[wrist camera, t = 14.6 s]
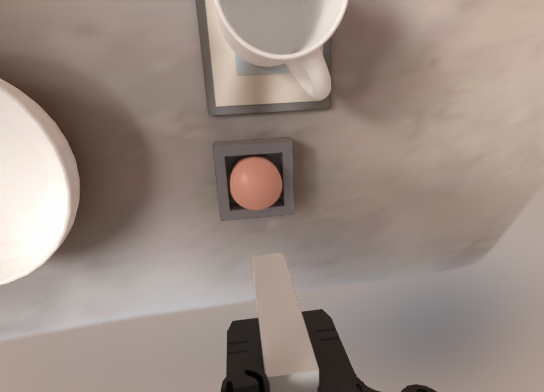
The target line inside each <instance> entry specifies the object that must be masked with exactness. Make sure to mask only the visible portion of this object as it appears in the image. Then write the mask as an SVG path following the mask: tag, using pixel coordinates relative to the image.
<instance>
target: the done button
mask: <svg viewBox="0 0 544 392" xmlns="http://www.w3.org/2000/svg"><path fill="white" fill-rule="evenodd" d="M230 190H231V194H232V196H233V198H234V200H235V201H236V202H237V203H238V204H239V205H240V206H242V207H244V208H246V209H249V210H262V209H265V208H268V207H269V206H271V205H272V204H274V203H275V202H276V201H277V199H278V198H279V196H280V194H281V191H282V179H281V176H280V173H279V172H278V170H277V168H276V166H275V164H274V163H273V161H272V160H271V159H270V158H268V157H267V156H265V155H262V154H254V155H244V156H242V157H241V158H239V159H238V160H237V161H236V162H235V163H234V165H233V167H232V169H231V174H230Z"/></svg>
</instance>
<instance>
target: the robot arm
mask: <svg viewBox="0 0 544 392" xmlns="http://www.w3.org/2000/svg"><path fill="white" fill-rule="evenodd" d="M252 266H253V280H254V293H255V305H256V314H257V318H253V319H245V320H237V321H233V322H232V323H231V325H230V327H229V329H228V331H227V373H226V374H227V376H226V378H225V379H224V381H223V383H222V387H221V392H379V391H376V390H373V389H371V388H369V387H367V386H366V385H365V384H364V382H362V381H361V380H360V379H358V377H357V376H356V374H355V373H354V371H353V368H352V366H351V363H350V361H349V359H348V356H347V354H346V352H345V349H344V347H343V345H342V342H341V340H340V339H339V335H338V333H337V331H336V328H335V326H334V324H333V321H332V319H331V317H330V316H329V315H328V314H327V313H326V312H324V311H323V310H322V309H320V310H313V311H304V312H301V310H300V306H299V303H298V300H297V296H296V293H295V290H294V287H293V283H292V280H291V277H290V274H289V270H288V267H287V264H286V261H285V257H284V254H283V253H276V254H267V255H257V256H252ZM401 392H436V391H435V390H433V389H431V388H428V387H426V386H423V385H417V384H415V385H410V386H407V387H406V388H404V389H403V390H402V391H401Z"/></svg>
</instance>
